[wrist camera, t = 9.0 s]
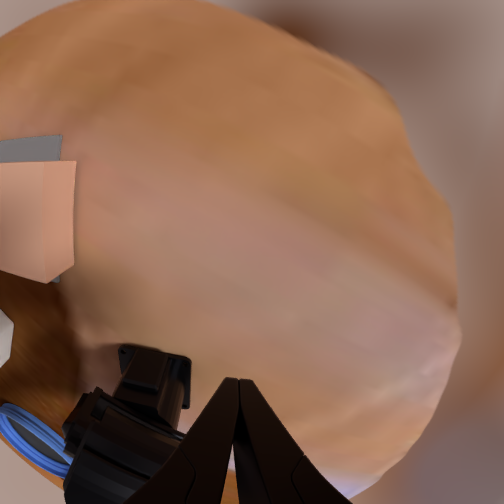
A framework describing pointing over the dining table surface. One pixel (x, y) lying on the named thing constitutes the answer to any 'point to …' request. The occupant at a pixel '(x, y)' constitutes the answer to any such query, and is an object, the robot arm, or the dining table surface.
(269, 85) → the dining table surface
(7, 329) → the medicine bottle
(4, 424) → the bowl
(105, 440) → the robot arm
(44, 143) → the mat
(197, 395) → the dining table surface
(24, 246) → the terracotta block
